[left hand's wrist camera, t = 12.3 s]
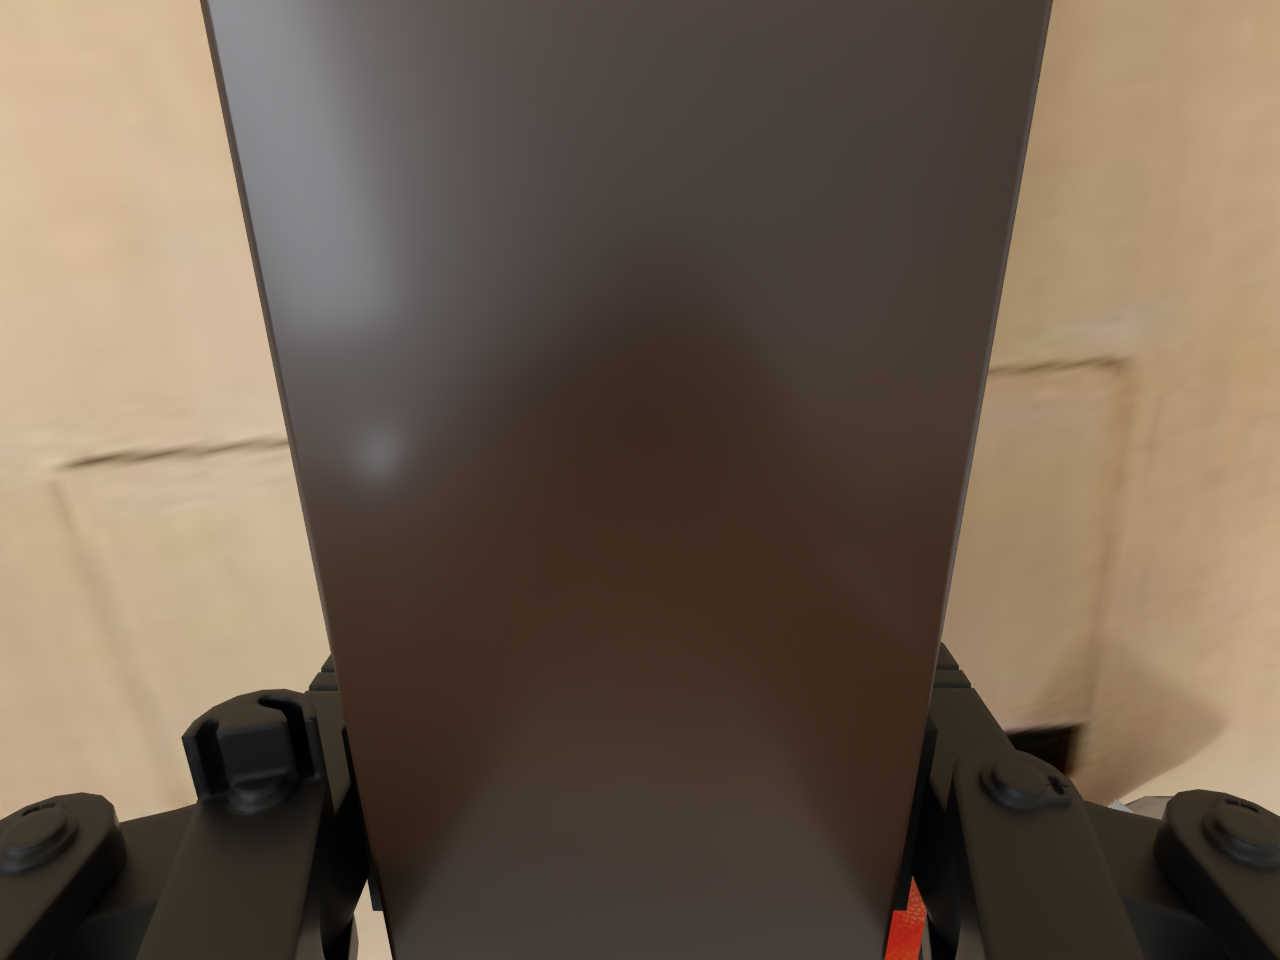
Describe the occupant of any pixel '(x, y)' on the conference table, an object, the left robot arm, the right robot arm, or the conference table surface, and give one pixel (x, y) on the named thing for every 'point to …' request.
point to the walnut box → (632, 437)
